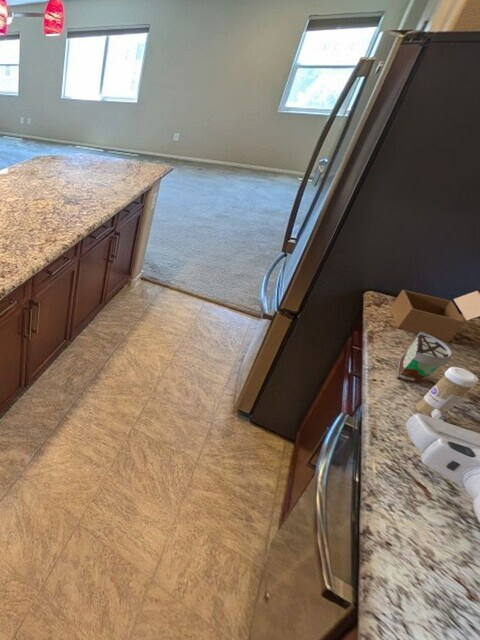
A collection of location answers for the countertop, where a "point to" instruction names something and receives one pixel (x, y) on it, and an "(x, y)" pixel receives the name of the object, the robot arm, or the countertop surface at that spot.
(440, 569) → the countertop surface
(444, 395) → the sprinkles bottle
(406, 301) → the carton
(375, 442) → the countertop surface
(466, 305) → the flap
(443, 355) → the food container
